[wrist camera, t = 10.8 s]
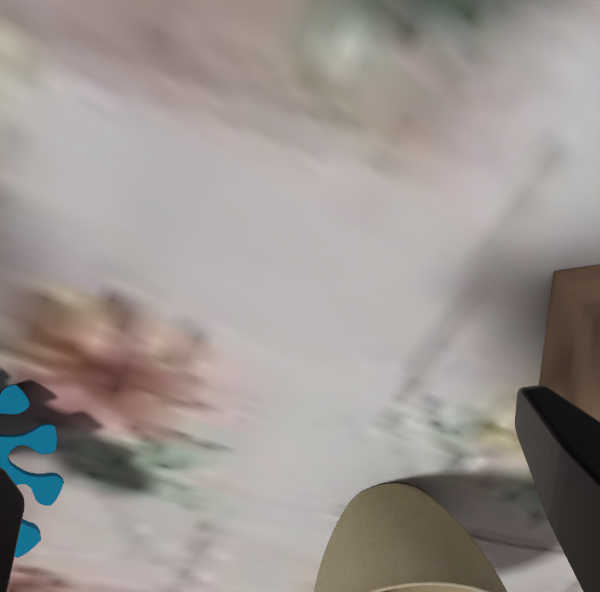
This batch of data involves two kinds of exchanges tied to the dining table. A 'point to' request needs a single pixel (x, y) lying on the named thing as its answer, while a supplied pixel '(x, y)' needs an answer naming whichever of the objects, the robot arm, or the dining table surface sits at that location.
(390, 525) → the beige bowl
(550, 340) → the walnut stand
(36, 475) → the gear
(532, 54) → the dining table surface
